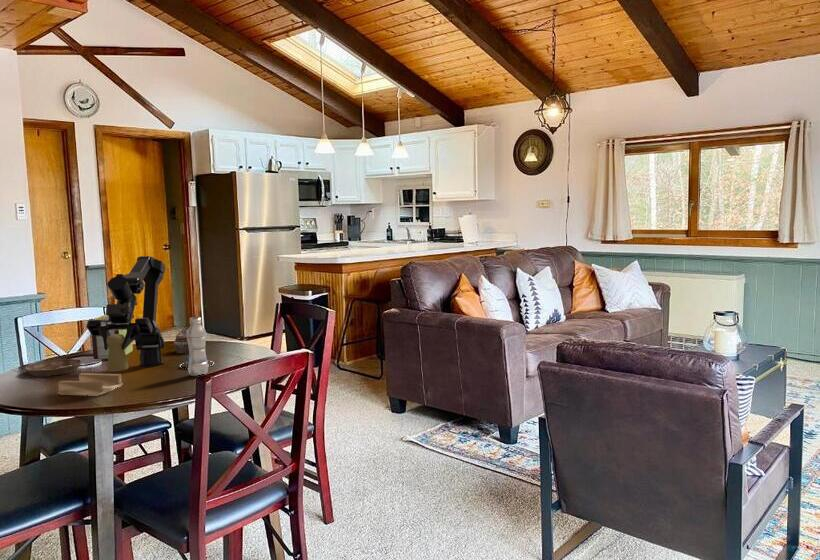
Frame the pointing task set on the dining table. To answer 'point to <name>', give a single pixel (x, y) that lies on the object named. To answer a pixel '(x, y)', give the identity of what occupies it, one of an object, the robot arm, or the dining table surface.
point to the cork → (116, 353)
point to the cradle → (90, 384)
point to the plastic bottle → (196, 347)
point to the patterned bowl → (188, 361)
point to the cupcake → (182, 341)
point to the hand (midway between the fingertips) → (114, 349)
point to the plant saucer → (41, 370)
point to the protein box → (98, 342)
